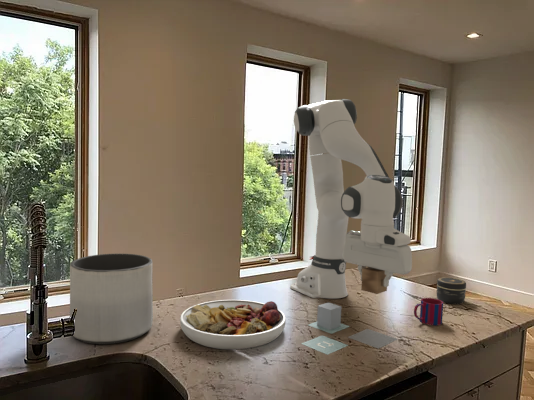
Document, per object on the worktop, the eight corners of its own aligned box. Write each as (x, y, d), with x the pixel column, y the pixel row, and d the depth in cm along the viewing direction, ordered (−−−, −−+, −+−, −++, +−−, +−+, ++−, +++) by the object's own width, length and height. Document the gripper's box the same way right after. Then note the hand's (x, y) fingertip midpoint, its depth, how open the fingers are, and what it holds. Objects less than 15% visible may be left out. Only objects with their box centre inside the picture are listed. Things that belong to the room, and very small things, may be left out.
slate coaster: (347, 339, 127) (347, 337, 127) (367, 330, 134) (367, 328, 134) (378, 350, 120) (378, 348, 120) (397, 341, 127) (397, 339, 127)
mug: (446, 325, 141) (448, 303, 140) (418, 327, 138) (420, 305, 138) (433, 317, 147) (434, 297, 147) (406, 319, 145) (407, 298, 144)
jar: (467, 300, 168) (468, 279, 167) (462, 306, 160) (464, 285, 159) (439, 295, 173) (440, 275, 173) (433, 301, 165) (434, 280, 164)
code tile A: (300, 345, 121) (300, 343, 121) (322, 337, 128) (322, 335, 128) (327, 356, 115) (327, 354, 115) (348, 347, 121) (348, 345, 121)
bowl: (200, 363, 110) (201, 332, 109) (167, 322, 136) (168, 296, 136) (304, 343, 124) (305, 315, 123) (256, 309, 150) (257, 286, 150)
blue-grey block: (316, 325, 135) (317, 305, 135) (327, 321, 139) (328, 302, 138) (330, 329, 132) (331, 309, 131) (340, 325, 135) (341, 306, 135)
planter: (129, 312, 143) (129, 250, 142) (167, 332, 128) (168, 263, 126) (57, 329, 128) (56, 259, 126) (90, 354, 112) (90, 275, 110)
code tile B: (307, 326, 136) (307, 324, 135) (326, 320, 142) (326, 318, 142) (331, 335, 129) (331, 333, 129) (349, 328, 135) (349, 326, 135)
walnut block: (361, 290, 126) (362, 268, 125) (371, 286, 129) (372, 266, 129) (376, 294, 122) (377, 272, 122) (386, 290, 125) (387, 269, 125)
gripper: (339, 230, 129) (337, 277, 131) (404, 241, 115) (401, 294, 116) (352, 228, 134) (350, 274, 135) (416, 238, 119) (413, 289, 120)
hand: (374, 283), depth 125 cm, fingers closed on walnut block, 5 cm apart
